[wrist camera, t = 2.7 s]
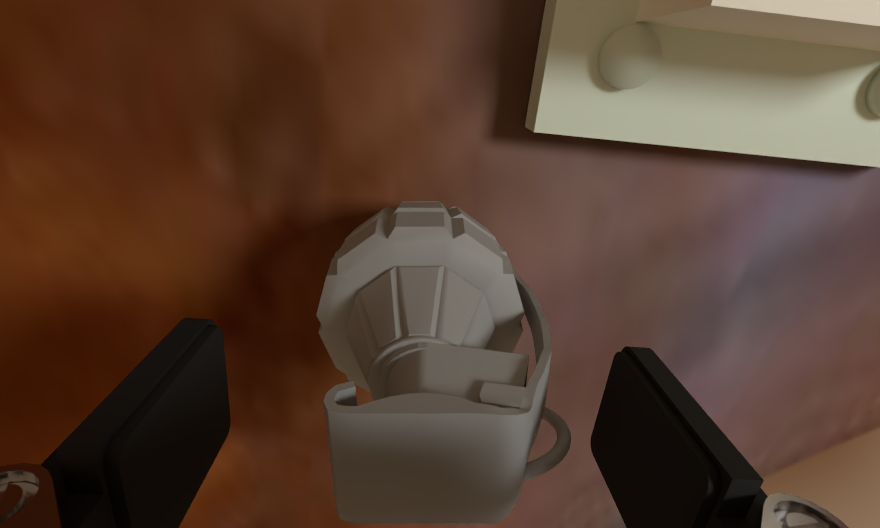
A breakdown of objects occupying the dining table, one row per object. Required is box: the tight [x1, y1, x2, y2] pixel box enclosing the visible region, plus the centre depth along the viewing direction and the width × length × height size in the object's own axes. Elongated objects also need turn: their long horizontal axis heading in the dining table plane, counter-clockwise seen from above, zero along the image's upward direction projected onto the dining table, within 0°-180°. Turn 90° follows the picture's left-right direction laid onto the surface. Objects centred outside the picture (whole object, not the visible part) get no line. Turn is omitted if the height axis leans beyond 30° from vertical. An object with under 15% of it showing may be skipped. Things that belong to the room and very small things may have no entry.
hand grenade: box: [316, 201, 571, 524], centre depth 13 cm, size 6×6×11 cm
